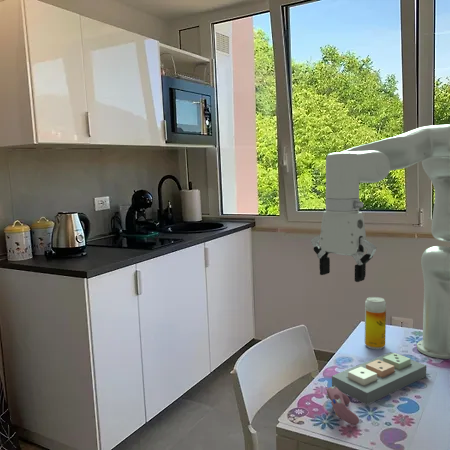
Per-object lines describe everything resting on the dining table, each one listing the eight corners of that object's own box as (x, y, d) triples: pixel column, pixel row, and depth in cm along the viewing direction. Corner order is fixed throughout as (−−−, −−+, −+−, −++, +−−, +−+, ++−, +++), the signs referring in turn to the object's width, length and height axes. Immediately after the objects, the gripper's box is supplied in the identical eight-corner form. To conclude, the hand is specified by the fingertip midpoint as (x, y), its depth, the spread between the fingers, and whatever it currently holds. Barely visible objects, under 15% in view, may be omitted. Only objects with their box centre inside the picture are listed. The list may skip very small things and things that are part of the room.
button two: (378, 370, 124) (378, 359, 123) (394, 376, 120) (394, 365, 119) (365, 375, 121) (366, 364, 120) (381, 382, 117) (382, 371, 116)
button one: (360, 377, 120) (360, 366, 119) (376, 384, 116) (377, 373, 115) (347, 383, 117) (347, 371, 117) (363, 390, 113) (363, 379, 112)
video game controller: (333, 409, 111) (320, 384, 110) (350, 401, 110) (337, 376, 110) (342, 433, 101) (328, 406, 100) (361, 424, 101) (347, 397, 100)
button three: (394, 363, 128) (394, 352, 127) (410, 369, 123) (410, 358, 123) (382, 368, 125) (383, 357, 124) (398, 374, 121) (399, 363, 120)
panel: (390, 362, 132) (390, 352, 131) (426, 376, 123) (426, 365, 122) (331, 387, 118) (331, 375, 118) (367, 404, 109) (367, 392, 109)
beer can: (386, 350, 140) (387, 302, 138) (365, 349, 141) (366, 301, 139) (383, 342, 145) (384, 296, 143) (363, 341, 147) (364, 296, 145)
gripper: (384, 206, 104) (383, 280, 106) (321, 202, 117) (321, 269, 119) (366, 209, 99) (365, 287, 101) (302, 205, 112) (302, 274, 114)
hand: (341, 277), depth 110 cm, fingers open, 9 cm apart
